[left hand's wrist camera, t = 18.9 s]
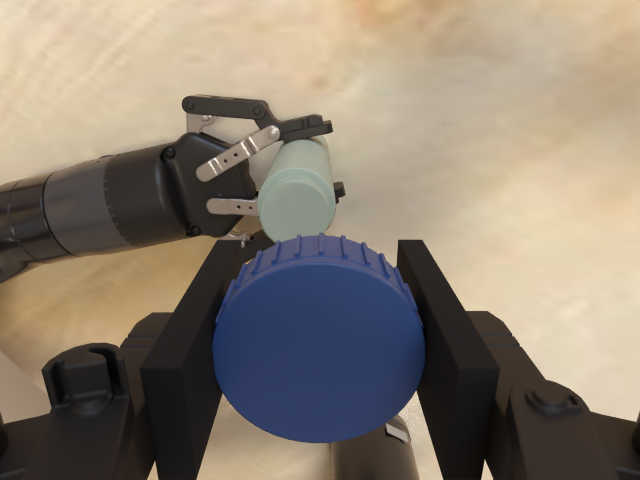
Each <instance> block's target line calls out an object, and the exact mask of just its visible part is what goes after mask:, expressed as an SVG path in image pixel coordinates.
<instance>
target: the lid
mask: <svg viewBox="0 0 640 480" xmlns="http://www.w3.org/2000/svg"><path fill="white" fill-rule="evenodd" d="M417 310H418V308H417V305H416V303H415V301H414V298H413V296H412V293H411V291H410V288H409V286H408V284H407V283H405V284H404V282H403V280H402V277H401V275H400V272H399V270H398V268H397V267H394V268H393V267H392V266H391V265H390V264H389V263H388V262H387V261H386V259H385V256H384V254H382V253H380V254H377V253H376V252H374V251H373V250H371V249H369V248H368V247H367V245H366V243H364V242H362V244H359V243H357V242H354V241H351V240H348V239H346V236H343V235H341V238H340V237H334V236H324V235H323V233H319V235H316V236H304V237H302V236H301V234H299V235H297V238H293V239H290V240H286V241H283V242H280V240H278V241H276V243H275V245H274V246H272V247H270V248H268V249H267V250H265V251H263V252H262V251H261V250H259V251H258V252H257V254H256V257H255V258H254V259H252V260H251V261H250V263H249V264H248V265H246V264H245V263H244V264H243V265H242V268H241V270H240V273H239V275H238V277H237V279H236V280H234V279H232V281H231V283H230V286H229V288H228V290H227V293H226V295H225V298H224V300H223V302H222V306H221V308H220V311H219V313H218V316H217V318H216V320H215V325H217V326H216V329H215V332H214V336H213V341H212V349H213V359H214V369H215V376H216V380H217V382H218V384H219V386H220V388H221V391H222V392H223V394H224V395H225V397H226V398H227V400H228V401H229V403H230V404H231V405H232V406H233V407H234V408H235V410H236V411H237V412H239V413H240V414H241V415H242V416H243V417H244V418H245V419H247V420H248V421H249V422H251V423H252V424H254V425H255V426H257V427H259V428H261V429H262V430H264V431H266V432H269V433H271V434H273V435H276V436H279V437H282V438H285V439H289V440H294V441H299V442H308V443H330V442H338V441H344V440H348V439H353V438H356V437H358V436H361V435H364V434H367V433H369V432H371V431H373V430H375V429H377V428H379V427H380V426H382V425H384V424H385V423H387V422H388V421H389V420H391V419H392V418H393V417H395V416H396V415H397V414H398V413H399V412H400V411H401V410H402V409H403V408H404V407H405V406H406V404H407V403H408V402H409V400H410V399H411V398H412V396H413V395H414V393H415V391H416V389H417V388H418V385H419V383H420V380H421V378H422V375H423V370H424V366H425V357H426V348H425V339H424V335H423V330H422V329H424V326H423V323H422V321H421V318H420V316H419V313H418V311H417Z"/></svg>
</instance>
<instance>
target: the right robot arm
mask: <svg viewBox="0 0 640 480" xmlns="http://www.w3.org/2000/svg"><path fill="white" fill-rule="evenodd" d="M182 108H183V110H184V111H185V112H187V133H186V134H184V135H182V136H181V137H180V138H179V139H178V140H177V141H175V142H172V143H168V144H163V145H159V146H154V147H150V148H145V149H141V150H136V151H132V152H127V153H123V154H118V155H108V156H103V157H101V158H99V159H96V160H91V161H87V162H83V163H80V164H77V165H75V166H72V167H70V168H67V169H64V170H61V171H57V172H52V173H48V174H43V175H39V176H34V177H30V178H25V179H21V180H17V181H12V182H8V183H5V184H2V185H0V285H2V284H4V283H6V282H7V281H9V280H12V279H14V278H16V277H18V276H20V275H22V274H24V273H26V272H28V271H30V270H32V269H34V268H36V267H39V266H41V265H44V264H49V263H54V262H60V261H64V260H69V259H74V258H79V257H84V256H90V255H105V254H113V253H118V252H123V251H128V250H133V249H138V248H143V247H148V246H153V245H157V244H162V243H167V242H172V241H177V240H182V239H187V238H191V237H196V236H200V235H206V236H211V237H214V238H221V240H241V243H242V258H243V263H245V262H247V261H249V260H251V259H253V258H255V257H256V254H257V252H258V251H259V250H261V251H262V252H263V251H265V250H267V249H268V248H270V247H272V246H274V245H275V243H274V242H273V241H272V240H271V239H270V238H269V237H268V236H267V235H266V233H265V232H264V230H263V229H261V230H259V231H258V232H256V233H254V234H252V235H251V234H250V233H249V232H246V231H243V232H240V233H237V232H234V231H233V230H232V229H233V227H234V226H235V225H236V224H237V223H238V222H239V221H240V220H241V218H242V217H243V216H244V215H250V216H259V215H258V211H257V198H258V194H259V191H260V189H256V188H255V184H254V182H253V180H252V178H251V177H250V175H249V162H248V158H249V157H250V156H252V155H254V154H255V153H256V152H258V151H260V150H262V149H263V148H265V147H267V146H269V145H270V144H272V143H274V142H276V141H281V140H283V141H284V143H287V142H291V141H295V140H300V139H305V138H310V137H314V136H319V135H323V134H328V133H331V132H333V129H332V124H331V120H328V121H323V119H322V115H316V114H313V115H309V116H304V117H300V118H295V119H291V120H286V121H280V120H277V119H276V118H275V117H274V116H273V114H272V113H271V111H270V109H269V106H268V104H267V103H266V102H265V101H262V100H252V99H241V98H230V97H219V96H208V95H192V96H188V97H185V98H184V99H183V101H182ZM217 116H221V117H232V118H243V119H254V121H255V122H256V124H257V125H258V127H259V128H260V129H259V130H258V131H256V132H254V133H252V134H250V135H249V136H247V137H245V138H243V139H242V140H240V141H238V142H236V143H235V144H233V145H231V144H229V143H227V142H224V141H222V140H220V139H217V138H215V137H213V136H210V135H208V134H206V133H204V132H202V129H203V127H204V126H205V125H211V124H213V123H214V122H215V121H216V120H217ZM333 187H334V194H335V201H336V204H337V203H339V199H338V198H339V197H343V196H345V190H344V185H343V182H335V183H333ZM255 196H256V197H257V198H256V197H255ZM251 207H252V208H251ZM330 452H331V475H332V480H420V478H419V474H418V471H417V467H416V463H415V458H414V454H413V450H412V446H411V439H410V435H409V431H408V428H407V426H406V424H405V422H404V421H403V420H402V419H401V418H400V417H399V416H398V415H396V416H395V417H393V418H392V419H391V420H389V421H388V422H387V423H385V424H384V425H382V426H380V427H379V428H377V429H375V430H373V431H371V432H369V433H367V434H364V435H361V436H358V437H356V438H353V439H348V440H344V441H338V442H330Z"/></svg>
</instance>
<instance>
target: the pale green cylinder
mask: <svg viewBox="0 0 640 480" xmlns="http://www.w3.org/2000/svg"><path fill="white" fill-rule="evenodd" d="M335 210H336V201H335V194H334V187H333V180H332V173H331V166H330V159H329V152H328V146H327V143H326V141H325V139H324V137H323V136H322V135H319V136H314V137H310V138H305V139H300V140H295V141H291V142H287V143H284V141H283V143H282V145H281V147H280V149H279V152H278V154H277V156H276V158H275V160H274V162H273V164H272V166H271V168H270V170H269V172H268V174H267V176H266V179H265V181H264V183H263V185H262V187H261V189H260V191H259V194H258V198H257V211H258V215H259V221H260V224H261V227H262V229H263V230H264V232H265V233H266V235H267V236H268V237H269V238H270V239H271V240H272V241H273V242H274V243H276V241H278V240H280V242H283V241H286V240H290V239H293V238H297V235H299V234H301V236H302V237H304V236H316V235H319V233H323V234H324V233H325V232H326V230H327V229H328V228H329V226H330V225H331V223H332V221H333V218H334V215H335Z"/></svg>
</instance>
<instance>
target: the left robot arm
mask: <svg viewBox="0 0 640 480" xmlns="http://www.w3.org/2000/svg"><path fill="white" fill-rule="evenodd" d="M242 265H243V258H242V243H241V240H217V242H216V243H215V245H214V247H213V248H212V250H211V251H210V253H209V255H208V256H207V258H206V260H205V261H204V263H203V265H202V266H201V268H200V270H199V271H198V273H197V274H196V276H195V278H194V279H193V281H192V283H191V284H190V286H189V288H188V289H187V291H186V293H185V294H184V296H183V297H182V299H181V301H180V302H179V304H178V306H177V307H176V309H175V311H174V312H173V313H151V314H150V315H148V316H147V317H145V318H144V319H142V320H141V321H139V322H138V323H137V324H136V325H135V326H134V328H133V329H132V330H131V332H130V333H129V335H128V338H126V339H125V340H124V341H123V343H122V344H121V346H120V348H119V347H118V346H116V345H113V344H108V343H90V344H86V345H81V346H77V347H74V348H72V349H69V350H67V351H64V352H62V353H60V354H59V355H57V356H56V357H54V358H53V359H51V360H50V361H49V362H48V363H47V364H46V365H45V366H44V367H43V369H42V374H43V378H44V381H45V385H46V389H47V393H48V396H49V400H50V403H51V407H52V409H51V411H50V413H49V414H45V415H42V416H38V417H34V418H29V419H24V420H20V421H15V422H11V423H6V424H4V423H3V420H2V416H1V413H0V480H147V478H148V476H149V474H150V471H151V469H152V466H153V464H154V462H156V467H157V473H158V479H159V480H196V479H197V476H198V472H199V469H200V466H201V462H202V459H203V456H204V452H205V449H206V446H207V443H208V439H209V436H210V433H211V429H212V426H213V423H214V419H215V416H216V413H217V410H218V406H219V403H220V400H221V396H222V393H223V392H222V391H221V388H220V386H219V384H218V382H217V380H216V376H215V369H214V359H213V349H212V341H213V336H214V332H215V329H216V326H217V325H215V320H216V318H217V316H218V313H219V311H220V308H221V306H222V302H223V300H224V298H225V295H226V293H227V290H228V288H229V286H230V283H231V281H232V279H234V280H236V279H237V277H238V275H239V273H240V270H241V268H242ZM397 268H398V270H399V272H400V275H401V277H402V280H403V282H404V284H405V283H407V284H408V286H409V288H410V291H411V293H412V296H413V298H414V301H415V303H416V305H417V308H418V310H417V311H418V313H419V316H420V318H421V321H422V323H423V326H424V329H422V330H423V335H424V339H425V348H426V357H425V366H424V370H423V375H422V378H421V380H420V383H419V385H418V388H417V389H416V391H417V394H418V397H419V401H420V404H421V407H422V410H423V414H424V417H425V420H426V424H427V427H428V430H429V434H430V437H431V440H432V444H433V447H434V450H435V453H436V457H437V460H438V463H439V467H440V470H441V473H442V477H443V480H481V477H482V471H483V466H484V460H486V463H487V465H488V467H489V470H490V472H491V474H492V477H493V480H640V412H639V415H638V418H637V421H636V422H634V421H629V420H624V419H620V418H615V417H611V416H606V415H601V414H598V413H594V412H591V411H590V410H589V408H588V406H587V405H586V404H585V402H584V401H583V399H582V398H581V397H580V396H578V395H577V394H576V393H574V392H573V391H572V390H570V389H569V388H567V387H565V386H562V385H560V384H558V383H556V382H552V381H549V380H546V379H545V378H544V377H543V375H542V374H541V373H540V371H539V370H538V369H537V367H536V366H535V364H534V363H533V362H532V360H531V359H530V358H529V356H528V355H527V354H526V352H525V351H524V350H523V348H522V347H520V344H519V343H518V341H517V340H516V339H515V337H514V336H512V333H511V332H510V330H509V329H508V328H507V326H506V325H505V324H504V322H503V321H501V320H500V319H498V318H497V317H495V316H494V315H492V314H491V313H489V312H488V311H465V309H464V308H463V306H462V305H461V303H460V301H459V300H458V298H457V296H456V295H455V293H454V291H453V290H452V288H451V286H450V285H449V283H448V282H447V280H446V278H445V277H444V275H443V273H442V272H441V270H440V268H439V267H438V265H437V263H436V262H435V260H434V259H433V257H432V255H431V254H430V252H429V250H428V249H427V247H426V245H425V244H424V242H423V240H398V253H397Z"/></svg>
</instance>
